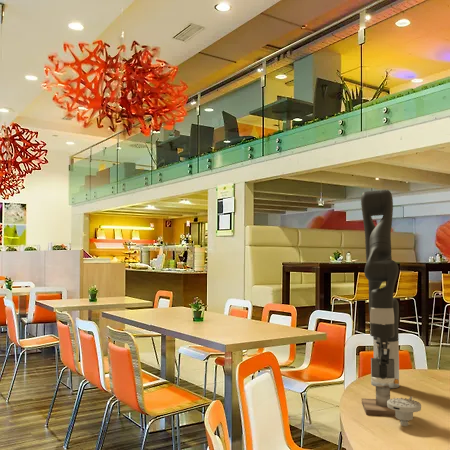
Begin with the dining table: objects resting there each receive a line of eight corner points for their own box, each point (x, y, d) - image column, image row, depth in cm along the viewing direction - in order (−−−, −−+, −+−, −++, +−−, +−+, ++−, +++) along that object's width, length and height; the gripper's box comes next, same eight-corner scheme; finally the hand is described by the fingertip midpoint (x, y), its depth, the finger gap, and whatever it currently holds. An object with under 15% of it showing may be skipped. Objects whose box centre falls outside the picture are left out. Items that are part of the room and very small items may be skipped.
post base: (361, 402, 169) (361, 380, 169) (398, 404, 167) (398, 381, 167) (366, 414, 156) (366, 390, 156) (406, 416, 154) (406, 391, 155)
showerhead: (427, 399, 148) (412, 406, 141) (428, 424, 147) (412, 432, 140) (397, 392, 154) (381, 399, 147) (397, 417, 154) (381, 424, 147)
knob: (369, 381, 166) (369, 356, 167) (396, 382, 165) (395, 357, 165) (372, 387, 159) (372, 360, 160) (400, 388, 158) (400, 361, 158)
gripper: (367, 318, 171) (368, 370, 169) (372, 324, 157) (373, 380, 156) (390, 319, 169) (391, 371, 168) (397, 324, 156) (398, 381, 155)
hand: (382, 375), depth 162 cm, fingers closed on knob, 2 cm apart
